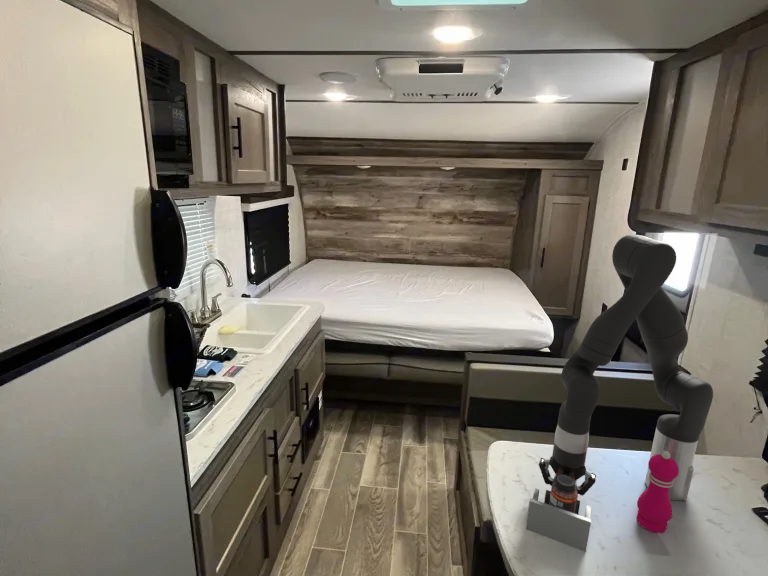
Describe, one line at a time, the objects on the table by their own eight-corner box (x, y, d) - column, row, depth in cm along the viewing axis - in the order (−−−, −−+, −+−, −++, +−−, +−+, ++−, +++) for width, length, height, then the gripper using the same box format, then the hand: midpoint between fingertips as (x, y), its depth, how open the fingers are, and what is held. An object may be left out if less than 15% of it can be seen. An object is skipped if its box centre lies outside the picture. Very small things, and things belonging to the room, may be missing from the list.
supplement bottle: (569, 511, 107) (575, 472, 104) (577, 530, 102) (583, 489, 99) (544, 508, 108) (550, 470, 105) (551, 527, 102) (556, 487, 99)
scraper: (580, 497, 112) (583, 478, 111) (577, 516, 106) (581, 496, 104) (548, 486, 116) (550, 467, 114) (543, 504, 109) (546, 485, 108)
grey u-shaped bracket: (588, 518, 105) (593, 491, 103) (585, 551, 96) (590, 522, 94) (533, 499, 111) (537, 473, 109) (525, 529, 102) (529, 500, 100)
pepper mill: (639, 507, 109) (653, 438, 104) (672, 523, 104) (688, 452, 99) (630, 522, 104) (644, 451, 99) (664, 540, 99) (681, 466, 94)
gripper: (603, 443, 105) (593, 501, 110) (543, 427, 112) (536, 483, 116) (601, 460, 99) (591, 522, 104) (538, 442, 105) (531, 500, 110)
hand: (562, 501), depth 110 cm, fingers closed on scraper, 3 cm apart
